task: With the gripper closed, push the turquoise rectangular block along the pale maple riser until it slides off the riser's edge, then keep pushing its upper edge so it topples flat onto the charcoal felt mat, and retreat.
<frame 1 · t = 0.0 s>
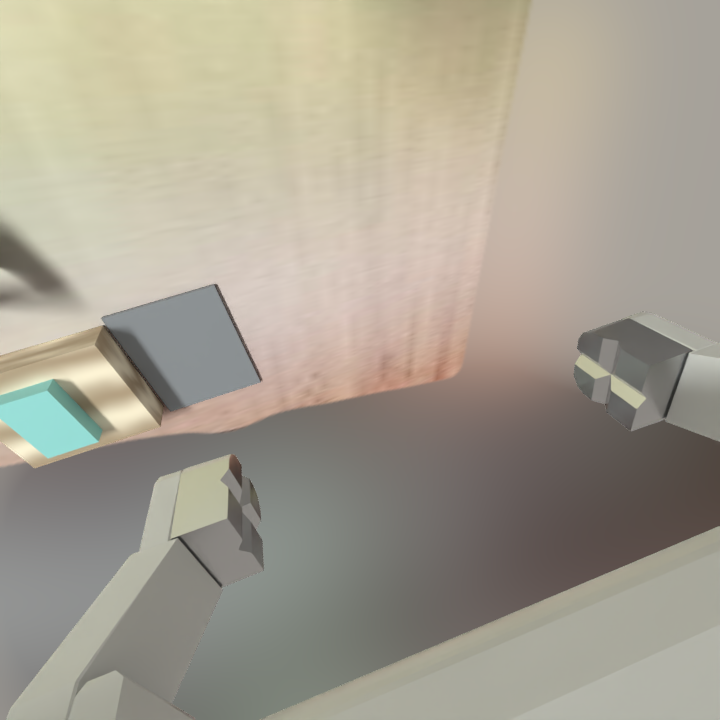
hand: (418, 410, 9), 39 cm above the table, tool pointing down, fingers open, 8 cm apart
riser: (71, 389, 48), on the table
mat: (190, 352, 50), on the table
turquoise rectangular block: (53, 414, 45), point 4 cm above the table, touching riser
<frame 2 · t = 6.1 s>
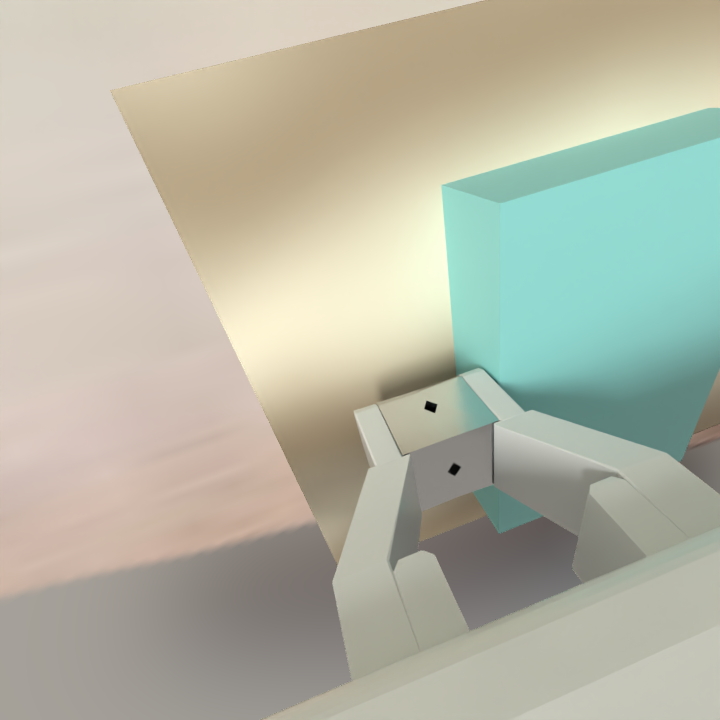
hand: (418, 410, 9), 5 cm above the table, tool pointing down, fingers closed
riser: (485, 280, 13), on the table
turquoise rectangular block: (559, 334, 10), point 4 cm above the table, touching gripper, riser
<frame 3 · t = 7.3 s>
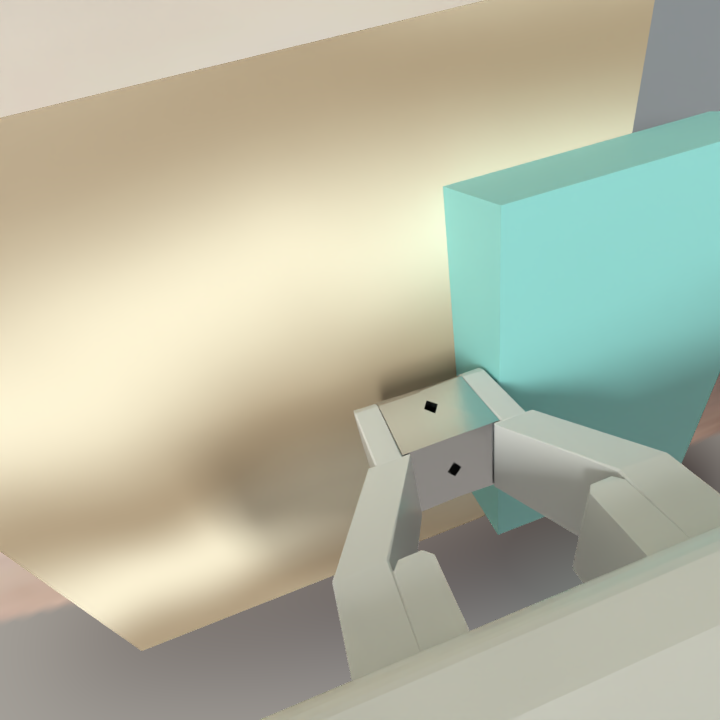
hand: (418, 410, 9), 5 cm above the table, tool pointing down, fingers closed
riser: (295, 341, 13), on the table
mat: (682, 216, 14), on the table
turquoise rectangular block: (560, 335, 10), point 4 cm above the table, touching gripper
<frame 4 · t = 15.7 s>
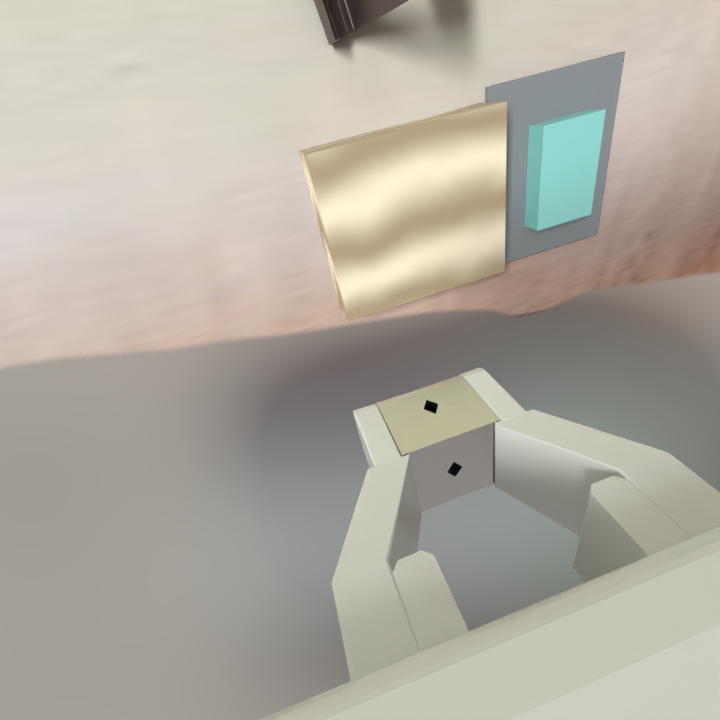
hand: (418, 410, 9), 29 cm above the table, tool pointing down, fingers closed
riser: (403, 212, 36), on the table
mat: (547, 170, 37), on the table
turquoise rectangular block: (569, 173, 36), point 2 cm above the table, tilted 180°, touching mat
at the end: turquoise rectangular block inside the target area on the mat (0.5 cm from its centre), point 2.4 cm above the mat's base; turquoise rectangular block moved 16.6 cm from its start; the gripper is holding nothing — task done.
